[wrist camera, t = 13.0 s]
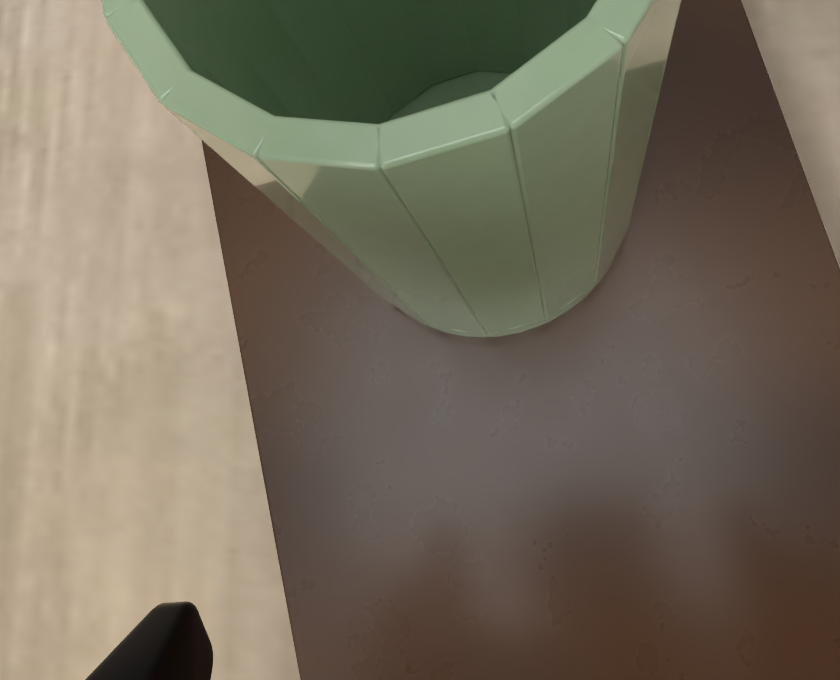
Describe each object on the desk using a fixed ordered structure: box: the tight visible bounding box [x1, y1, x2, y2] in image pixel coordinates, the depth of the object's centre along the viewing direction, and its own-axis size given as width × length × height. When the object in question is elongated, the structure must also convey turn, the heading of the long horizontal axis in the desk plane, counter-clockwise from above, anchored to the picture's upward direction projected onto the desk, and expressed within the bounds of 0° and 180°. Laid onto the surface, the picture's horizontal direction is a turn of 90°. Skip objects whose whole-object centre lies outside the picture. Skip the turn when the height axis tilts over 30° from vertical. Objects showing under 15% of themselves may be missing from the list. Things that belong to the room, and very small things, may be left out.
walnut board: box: [202, 0, 840, 680], centre depth 17 cm, size 26×14×2 cm, turn 13°
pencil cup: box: [102, 0, 681, 338], centre depth 13 cm, size 7×7×10 cm
